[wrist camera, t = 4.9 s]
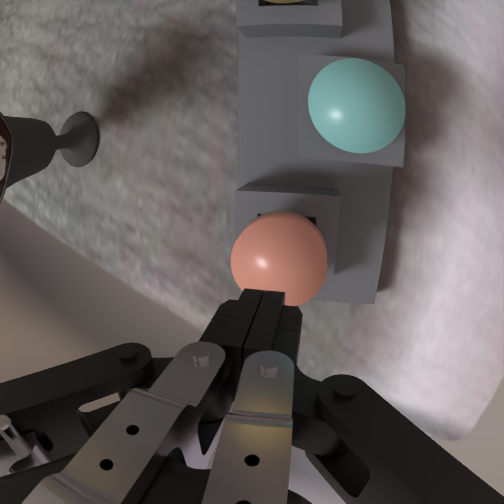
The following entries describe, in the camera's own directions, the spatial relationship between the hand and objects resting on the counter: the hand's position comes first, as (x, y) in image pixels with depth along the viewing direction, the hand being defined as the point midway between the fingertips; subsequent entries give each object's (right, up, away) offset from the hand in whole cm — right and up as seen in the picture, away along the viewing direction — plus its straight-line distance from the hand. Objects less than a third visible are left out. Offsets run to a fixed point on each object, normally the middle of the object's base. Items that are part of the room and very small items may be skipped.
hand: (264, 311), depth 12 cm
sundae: (-16, +12, +12) cm, 23 cm away
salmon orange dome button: (+2, +3, +8) cm, 8 cm away
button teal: (+5, +11, +5) cm, 13 cm away
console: (+4, +11, +7) cm, 14 cm away
